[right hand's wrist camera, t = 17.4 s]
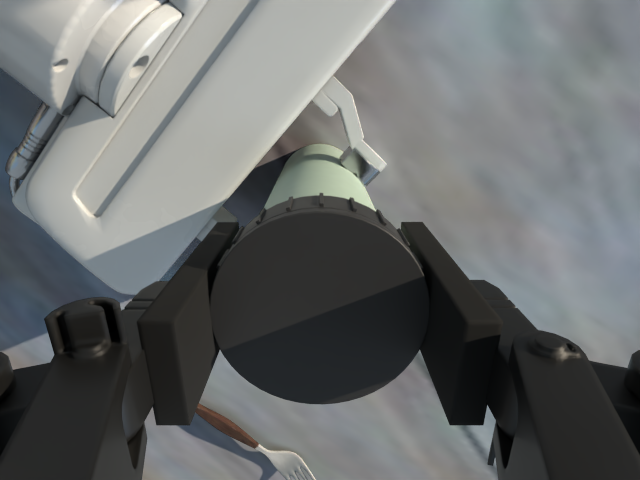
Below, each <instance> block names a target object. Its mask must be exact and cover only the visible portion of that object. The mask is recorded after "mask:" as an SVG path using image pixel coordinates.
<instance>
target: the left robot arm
mask: <svg viewBox="0 0 640 480" xmlns="http://www.w3.org/2000/svg"><path fill="white" fill-rule="evenodd" d="M396 1H397V0H0V68H1V69H3V70H4V71H5V72H7V73H8V74H9V75H10V76H12V77H13V78H14V79H16V80H17V81H18V82H20V83H21V84H22V85H23V86H25V87H26V88H27V89H28V90H30V91H31V92H32V93H33V94H35V95H36V96H37V97H39V98H40V99H41V100H42V101H43V102H42V104H41V105H40V107H39V109H38V111H37V112H36V114H35V115H34V117H33V119H32V120H31V122H30V124H29V126H28V129H27V131H26V134H25V136H24V138H23V140H22V142H21V143H20V145H19V146H18V147H16V148H15V149H14V150H13V152H12V153H11V154H10V156H9V158H8V160H7V163H6V167H5V171H6V173H7V174H8V175H10V179H9V187H10V192H11V195H12V197H13V198H12V202H13V204H14V205H15V207H16V208H17V209H18V210H19V211H20V212H21V213H22V214H24V215H25V216H27V217H28V218H30V219H31V220H32V221H34V222H35V223H37V224H38V225H40V226H41V227H42V228H43V229H44V230H45V231H46V232H47V233H48V234H49V235H50V236H51V237H52V238H53V239H54V240H55V241H56V242H57V243H58V244H59V245H60V246H61V247H62V248H63V249H64V250H66V251H67V252H68V253H69V254H70V255H71V256H72V257H73V258H75V259H76V260H77V261H78V262H79V263H80V264H82V265H83V266H84V267H85V268H86V269H87V270H89V271H90V272H91V273H92V274H94V275H95V276H96V277H97V278H99V279H100V280H101V281H102V282H104V283H105V284H106V285H108V286H109V287H111V288H112V289H113V290H115V291H117V292H119V293H121V294H130V295H137V294H138V292H139V291H140V290H141V289H143V288H145V287H147V286H148V285H150V284H152V283H154V282H156V281H159V280H160V279H161V278H162V277H163V276H164V275H165V273H166V272H167V271H168V270H169V269H170V267H171V266H172V265H173V264H174V263H175V262H176V260H177V259H178V258H179V257H180V256H181V255H182V253H183V252H184V251H185V250H186V248H187V247H188V246H189V245H190V243H191V242H192V241H193V240H194V239H195V238H197V239H199V240H200V241H201V242H202V240H203V239H204V238H205V237H206V235H207V234H208V233H209V232H210V231H211V229H212V228H213V227H214V226H215V224H216V223H217V222H237V218H236V217H235V216H234V215H232V214H231V213H230V212H229V211H228V210H226V209H225V208H224V207H223V204H224V203H225V202H226V201H227V200H228V199H229V197H230V196H231V195H232V194H233V193H234V191H235V190H236V189H237V188H238V187H239V186H240V184H241V183H242V182H243V181H244V180H245V179H246V177H247V176H248V175H249V174H250V173H251V171H252V170H253V169H254V168H255V167H256V166H257V164H258V163H259V162H260V161H261V160H262V158H263V157H264V156H265V155H266V154H267V153H268V151H269V150H270V149H271V148H272V147H273V145H274V144H275V143H276V142H277V141H278V140H279V138H280V137H281V136H282V135H283V134H284V132H285V131H286V130H287V129H288V128H289V127H290V125H291V124H292V123H293V122H294V121H295V119H296V118H297V117H298V116H299V115H300V114H301V112H302V111H303V110H304V109H305V108H306V106H307V105H308V104H309V103H310V102H311V101H313V102H314V103H315V104H316V105H317V106H318V107H319V108H320V109H321V110H322V111H323V112H324V113H325V114H326V115H328V116H329V117H331V116H333V115H334V114H335V113H336V112H337V110H338V109H339V112H340V116H341V119H342V123H343V126H344V129H345V133H346V136H347V140H348V143H349V147H348V148H347V149H346V150H345V152H344V153H343V154H342V155H341V156H340V157H339V159H340V160H341V161H340V162H341V164H342V165H343V166H344V167H345V168H346V169H348V170H349V171H350V172H351V173H355V174H356V176H357V178H358V179H359V180H360V182H362V183H363V184H364V185H365V186H367V185H368V184H369V183H370V182H371V181H372V180H373V179H374V178H375V177H376V176H377V175H378V174H379V173H380V172H381V171H382V170H383V169H384V168H385V167H386V166H387V163H386V162H385V161H384V160H383V159H382V158H381V157H380V156H379V155H378V154H377V153H376V152H375V151H374V150H373V149H372V148H371V147H369V146H368V145H367V144H366V143H365V142H364V141H363V140H362V139H363V138H364V136H363V133H362V129H361V125H360V122H359V118H358V114H357V111H356V107H355V103H354V99H353V96H352V94H351V93H350V92H349V91H348V90H347V89H346V88H345V87H344V86H343V85H342V84H341V83H340V82H339V81H338V80H337V79H336V78H335V77H334V76H333V75H334V73H335V72H336V71H337V70H338V69H339V67H340V66H341V65H342V64H343V63H344V62H345V60H346V59H347V58H348V57H349V56H350V54H351V53H352V52H353V51H354V50H355V49H356V48H357V47H358V46H359V44H360V43H361V42H362V41H363V40H364V38H365V37H366V36H367V35H368V34H369V33H370V31H371V30H372V29H373V28H374V27H375V25H376V24H377V23H378V22H379V21H380V20H381V18H382V17H383V16H384V15H385V14H386V12H387V11H388V10H389V9H390V8H391V6H392V5H393V4H394V3H395V2H396ZM20 180H23V182H22V183H21V185H20V186H19V181H20ZM239 230H240V229H239Z"/></svg>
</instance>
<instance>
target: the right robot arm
mask: <svg viewBox="0 0 640 480" xmlns="http://www.w3.org/2000/svg"><path fill="white" fill-rule="evenodd" d="M238 231H239V224H238V222H217V223H216V224H215V226H214V227H213V228H212V229H211V231H210V232H209V233H208V234H207V235H206V237H205V238H204V239H203V240H202V242H201V243H200V244H199V245H198V247H197V248H196V249H195V250H194V251H193V253H192V254H191V255H190V256H189V258H188V259H187V260H186V261H185V262H184V264H183V265H182V266H181V267H180V269H179V270H178V271H177V272H176V274H175V275H174V276H173V277H172V278H171V280H170V281H156V282H154V283H152V284H150V285H148V286H147V287H145V288H143V289H141V290H140V291H139V292H138V294H137V295H136V296H135V297H134V298H133V299H132V301H130V302H129V303H128V304H127V305H126V307H125V309H124V310H122V311H121V308H120V303H119V302H118V301H116V300H115V299H112V298H106V297H95V298H87V299H82V300H77V301H74V302H71V303H69V304H66V305H63V306H61V307H59V308H58V309H56V310H54V311H52V312H51V313H50V314H49V315H48V316H47V317H46V318H45V319H44V320H45V323H46V327H47V330H48V334H49V337H50V341H51V344H52V347H53V351H54V354H55V355H54V357H53V359H52V361H51V362H50V363H46V364H41V365H36V366H31V367H26V368H20V369H15V370H13V369H12V366H11V363H10V360H9V357H8V356H7V355H5V354H4V353H2V352H0V480H142V473H143V466H144V459H145V451H146V444H147V434H146V428H145V424H144V421H145V419H146V417H147V415H148V414H149V412H150V410H151V408H152V406H153V410H154V415H155V420H156V425H190V424H191V421H192V419H193V416H194V414H195V411H196V408H197V406H198V403H199V401H200V398H201V396H202V393H203V391H204V388H205V386H206V383H207V381H208V378H209V376H210V373H211V370H212V368H213V365H214V363H215V360H216V358H217V355H218V353H219V350H220V348H219V346H218V344H217V342H216V339H215V337H214V334H213V330H212V323H211V314H210V293H211V289H212V284H213V281H214V279H215V276H216V273H217V271H218V269H217V265H218V264H219V262H220V260H221V259H222V257H223V255H224V254H225V252H226V250H227V249H229V250H230V248H231V247H232V245H233V243H232V241H233V240H234V238H235V236H236V235H237V233H238ZM401 231H402V233H403V234H404V236H405V238H406V239H407V241H408V243H409V244H410V245H409V246H408V247H409V249H410V250H411V252H414V253H415V255H416V257H417V258H418V260H419V262H420V263H421V265H422V267H423V269H424V271H423V274H424V276H425V279H426V283H427V286H428V290H429V296H430V311H429V320H428V328H427V332H426V336H425V339H424V341H423V343H422V345H421V347H420V351H421V353H422V356H423V358H424V361H425V363H426V366H427V369H428V371H429V374H430V376H431V379H432V381H433V384H434V386H435V389H436V391H437V394H438V396H439V399H440V401H441V404H442V407H443V409H444V412H445V414H446V417H447V419H448V422H449V424H450V425H483V424H484V419H485V414H486V408H487V405H488V407H489V408H490V410H491V412H492V414H493V416H494V418H495V419H496V424H495V428H494V433H493V438H492V443H491V448H490V452H489V458H488V465H492V466H493V463H494V459H495V458H496V465H497V473H498V480H640V350H638V351H637V352H635V353H634V354H632V356H631V359H630V362H629V365H628V368H624V367H619V366H613V365H608V364H603V363H597V362H593V361H589V360H588V358H587V356H586V354H585V353H584V352H583V351H582V350H581V348H580V347H579V346H577V345H576V344H574V343H573V342H571V341H570V340H568V339H566V338H564V337H561V336H559V335H556V334H553V333H549V332H545V331H540V330H537V329H536V328H535V327H534V326H533V324H532V323H531V322H530V321H529V320H528V319H527V318H526V317H525V316H524V315H523V314H522V313H521V312H520V310H519V309H518V308H515V305H514V304H513V303H512V302H511V301H510V300H508V298H507V297H506V295H505V294H504V293H503V292H502V291H501V290H500V289H499V288H497V287H496V286H494V285H492V284H490V283H488V282H487V281H485V280H469V279H468V278H467V276H466V275H465V274H464V273H463V271H462V270H461V269H460V268H459V266H458V265H457V264H456V263H455V262H454V260H453V259H452V258H451V257H450V255H449V254H448V253H447V252H446V251H445V249H444V248H443V247H442V246H441V244H440V243H439V242H438V241H437V239H436V238H435V237H434V236H433V235H432V233H431V232H430V231H429V230H428V228H427V227H426V226H425V225H424V223H423V222H401Z"/></svg>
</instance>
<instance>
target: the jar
mask: <svg viewBox="0 0 640 480" xmlns="http://www.w3.org/2000/svg"><path fill="white" fill-rule="evenodd" d="M343 153H344V152H342V151H341V150H339V149H338V148H336V147H333V146H331V145H326V144H312V145H308V146H305V147H303V148H301V149H299V150H297V151H296V152H295V153H294V154H292V155H291V157H290V158H289V159H288V160H287V162H286V163H285V165H284V167H283V170H282V172H281V174H280V176H279V178H278V180H277V182H276V184H275V186H274V188H273V190H272V192H271V194H270V196H269V198H268V200H267V202H266V204H265V206H264V208H265V209H266V210H267V209H269V208H271V207H273V206H274V205H276V204H279V203H282V202H284V201H287V200H288V199H289V197H291V196H293V199H294V198H299V197H304V196H314V195H319V193H323V196H335V197H341V198H346V199H350V197H352V198H354V201H356V202H358V203H361V204H363V205H365V206H367V207H369V208H371V209H373V210H374V211H376V210H375V208H374V206H373V204H372V202H371V200H370V198H369V196H368V194H367V191H366V189H365V187H364V185H363V183H362V182H360V180H359V179H358V178H357V176H356V174H355V173H351V172H350V171H349V170H348V169H346V168H345V167H344V166H343V165H342V164H341V162H340V161H341V160H340V159H339V157H340V156H341V155H342V154H343Z"/></svg>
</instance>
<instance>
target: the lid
mask: <svg viewBox="0 0 640 480" xmlns="http://www.w3.org/2000/svg"><path fill="white" fill-rule="evenodd" d="M232 243H233V245H232V247H231V248H230V250H229V249H227V250H226V252H225V254H224V255H223V257H222V259H221V260H220V262H219V264H218V265H217V269H218V271H217V273H216V276H215V279H214V281H213V284H212V289H211V293H210V314H211V323H212V330H213V334H214V337H215V339H216V342H217V344H218V346H219V348H220V350H221V352H222V353H223V355H224V357H225V358H226V359H227V361H228V362H229V363H230V365H231V366H232V367H233V368H234V369H235V370H236V371H237V372H238V373H239V374H240V375H241V376H242V377H244V378H245V379H246V380H247V381H249V382H250V383H251V384H253V385H255V386H256V387H258V388H259V389H261V390H263V391H265V392H267V393H269V394H271V395H274V396H277V397H280V398H282V399H286V400H290V401H294V402H299V403H307V404H332V403H340V402H345V401H350V400H354V399H357V398H360V397H363V396H365V395H368V394H370V393H373V392H375V391H376V390H378V389H380V388H382V387H384V386H385V385H387V384H388V383H389V382H391V381H392V380H394V379H395V378H396V377H397V376H398V375H399V374H401V373H402V372H403V371H404V370H405V369H406V367H407V366H408V365H409V364H410V363H411V362H412V360H413V359H414V357H415V356H416V354H417V353H418V351H419V349H420V347H421V345H422V343H423V341H424V339H425V336H426V332H427V328H428V320H429V311H430V296H429V290H428V286H427V283H426V279H425V276H424V274H423V271H424V269H423V267H422V265H421V263H420V262H419V260H418V258H417V257H416V255H415V253H414V252H411V250H410V249H409V247H408V246H409V245H410V244H409V243H408V241H407V239H406V238H405V236H404V234H403V233H402V231H401V230H400V228H399V229H396V228H395V227H394V226H393V225H392V224H391V223H390V222H389V221H388V220H387V219H385V218H384V217H383V215H382V213H381V211H379V210H378V209H377V211H374V210H373V209H371V208H369V207H367V206H365V205H363V204H361V203H358V202H356V201H354V198H352V197H350V199H346V198H341V197H335V196H323V193H319V195H314V196H304V197H299V198H294V199H293V196H291V197H289V199H288V200H287V201H284V202H282V203H279V204H276V205H274V206H273V207H271V208H269V209H267V210H266V209H265V208H263V209H262V210H261V212H260V214H259V215H258V216H257V217H255V218H254V219H253V220H252V221H251V222H250V223H249V224H248V225H247V226H246V227H245V228H244V227H243V226H242V227H241V228H240V230H239V231H238V233H237V235H236V236H235V238H234V240H233V241H232Z"/></svg>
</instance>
